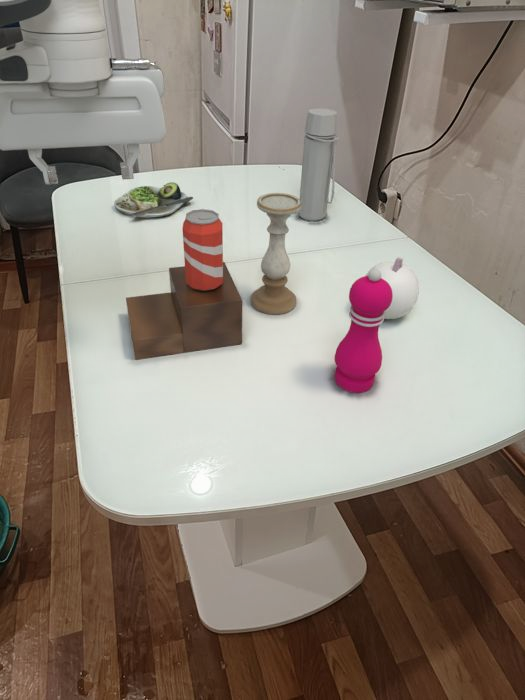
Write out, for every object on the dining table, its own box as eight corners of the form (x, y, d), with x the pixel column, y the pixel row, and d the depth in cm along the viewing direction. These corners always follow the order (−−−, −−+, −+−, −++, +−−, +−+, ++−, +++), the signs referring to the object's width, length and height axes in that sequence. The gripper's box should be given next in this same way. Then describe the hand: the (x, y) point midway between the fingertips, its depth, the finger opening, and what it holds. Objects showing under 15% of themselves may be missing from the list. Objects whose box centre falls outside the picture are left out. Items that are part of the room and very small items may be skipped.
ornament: (409, 334, 92) (425, 276, 84) (353, 323, 94) (363, 265, 86) (413, 304, 100) (428, 249, 92) (361, 294, 102) (371, 239, 94)
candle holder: (262, 319, 94) (267, 214, 81) (243, 295, 100) (245, 194, 87) (304, 309, 97) (315, 206, 84) (283, 286, 103) (290, 188, 90)
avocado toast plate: (163, 229, 122) (161, 210, 119) (99, 216, 126) (96, 198, 123) (199, 200, 136) (198, 183, 133) (140, 189, 140) (138, 172, 137)
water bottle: (291, 216, 130) (299, 111, 115) (309, 208, 135) (319, 105, 119) (320, 227, 125) (332, 119, 110) (338, 218, 130) (352, 113, 115)
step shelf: (135, 360, 83) (128, 314, 78) (128, 316, 93) (121, 272, 87) (242, 344, 88) (242, 300, 82) (224, 303, 97) (224, 261, 92)
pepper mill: (356, 402, 77) (380, 289, 65) (321, 377, 82) (337, 267, 69) (386, 382, 81) (413, 272, 69) (351, 359, 85) (371, 251, 73)
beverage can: (228, 289, 84) (228, 221, 77) (190, 296, 82) (186, 226, 75) (217, 272, 89) (216, 206, 81) (181, 277, 87) (177, 210, 79)
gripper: (158, 53, 62) (167, 167, 71) (-25, 54, 57) (8, 176, 66) (166, 63, 58) (174, 183, 66) (-33, 65, 53) (4, 195, 61)
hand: (90, 180), depth 66 cm, fingers open, 8 cm apart
